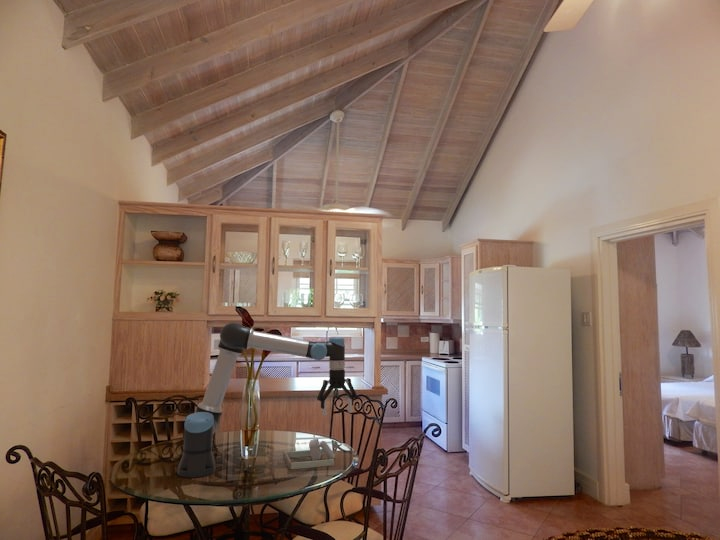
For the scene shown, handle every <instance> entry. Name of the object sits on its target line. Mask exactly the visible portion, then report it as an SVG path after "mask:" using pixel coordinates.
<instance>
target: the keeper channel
mask: <svg viewBox="0 0 720 540" xmlns="http://www.w3.org/2000/svg"><path fill="white" fill-rule="evenodd" d="M320 450H321V456H323V455H324V456H325V455H326V453H325V452H324V451H323V449H322V448H320ZM297 457H298V458H300V457H311V453H310V449H306V450H305V449H304V450H294V451H293V450H292V451H286V450H283V459H284V461H285V464H286V466H287V468H288V469H289V470H298V469H299V470H300V469H308V468H309V469H310V468H321V466H322V467H330V466H335V459H334V458H333V459H329V458H328V459H320V460H317V461H312V460H308V461H307V460H306V461H298V462H296V461H295V462H292V461H291V458H297Z"/></svg>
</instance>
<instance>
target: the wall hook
mask: <svg viewBox="0 0 720 540" xmlns="http://www.w3.org/2000/svg"><path fill="white" fill-rule="evenodd" d="M308 446H309V447H308V449H309V450H310V453H311V456H310V457H311V461H317V460H321V459H322V455H321V450H320V449H323V451H324V452H325V455H326V456H327V458H328V460H329V459H334V458H335V457H336V454H335V453H334V451H333V450H332V449H331V448H330V446H329V445H328V443H327V442H326V441H325V440H322V441H319V439H318V438H315V439H311V440H310V441H309V442H308Z"/></svg>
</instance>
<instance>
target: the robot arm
mask: <svg viewBox="0 0 720 540" xmlns="http://www.w3.org/2000/svg"><path fill="white" fill-rule="evenodd" d="M242 324H243V323H242V322H238V321H234V322H229V323H227V324H225V325H223V327H222V328H221V330H220V332H219V339H220V340H219V342H218V343H219V344H218V346H217V349H218V350H219V353H218V355H217V358H216V362H215V365H214V367H213V371H212V374H211V376H210V379H209V382H208V384H207V387H206V390H205V392H204V395H203V399H202V401H201V402H200V403H198V404H197V406H196V408H195V411H194V412H192V413H190V414H188V415H187V416H186V417H185V420H184V423H183V424H184V426H183V427H184V428H183V429H184V430H183V431H184V433H183V447H182V449H183V450H182V452H183V453H182V455H181V456H182V457H181V459H180V461H179V463H178V466H177V476H179V477H180V478H181V477H182V478H189V479H191V478H201V477H206V476H209V475H211V474H213V473H215V472H216V467H217V465H216V460H215V457H214V453H213V439H214V434H215V433H216V432H217V430H218V428H219V426H220V422H221V418H222V414H223V408H222V405H223V402H224V398H225V396H226V392H227V389H228V387H229V383H230V380H231V378H232V375H233V372H234V368H235V366H236V363H237V361H238V357H239V356H241V355H242V354H243V353H244V350H249V349H257V350H262V351H269V352H274V353H280V354H283V355H284V354H286V355H291V356H297V357H301V358H302V357H303V358H308V359H313V360H315V361H321V360H324V359H325V358H329V359H328V360H329V364H328V365H329V372H328V373H329V374H328V375H329V380H328V379H327V380H326V379H324V380H323V381H322V386H321V388H320V391H319V393H318V395H317V398H316V401H319V402H320V408H321V409H322V414H321V415H322V416H323V417H326V416H327V401H326V400H327V398H328V397H329V395H330V394H331V393H332V391H333V390H338V389H342V390H343V392H344V393H345V394H346V396H348V398H347V413H349V414H352V413H353V407H352V406H354V399H355V398H357V396H358V395H357V393H356V390H355V388H354V386H353V384H352V380H351V378H350V377H348V378H345V377H346V370H345V365H346V363H345V361H346V357H345V356H346V355H345V353H346V352H345V351H346V349H345V347H346V345H345V338H344V337H342V336H332V337H329V340H326V341H311V340H305V339H301V338H295V337H290V336H284V335H279V334H272V333H269V332H268V333H267V332H262V331H256V330H254V328H252V327H249V326H246V325H245V326H246V327H245V326H243V325H242ZM345 383H346V384H347V386H346V385H345ZM328 385H329V386H328ZM327 387H328V388H327ZM347 387H348V388H347Z"/></svg>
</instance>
